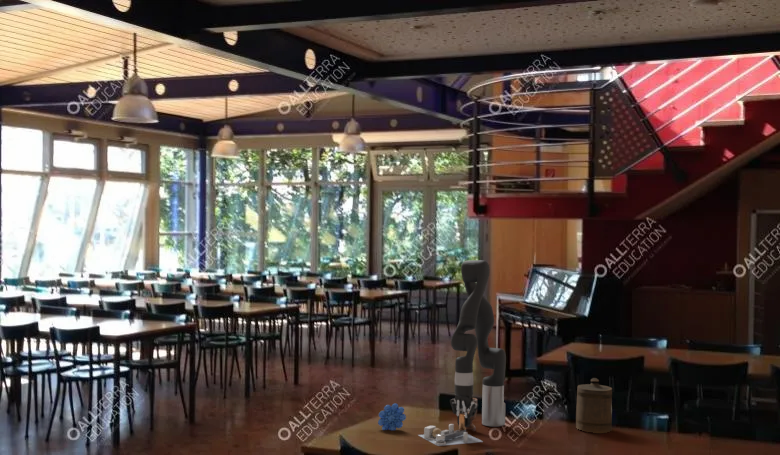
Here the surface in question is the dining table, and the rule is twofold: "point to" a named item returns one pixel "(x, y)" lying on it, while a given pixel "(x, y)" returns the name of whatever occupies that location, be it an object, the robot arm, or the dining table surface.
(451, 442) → the nutcracker base
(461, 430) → the lever
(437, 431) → the hazelnut
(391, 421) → the blue lumpy cluster
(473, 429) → the mortar and pestle
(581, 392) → the wooden container
